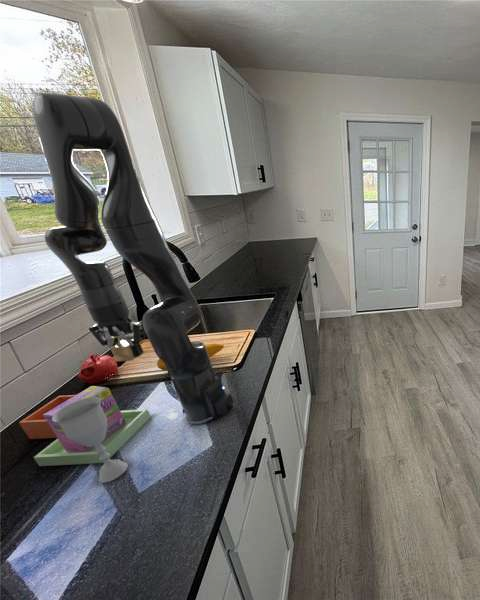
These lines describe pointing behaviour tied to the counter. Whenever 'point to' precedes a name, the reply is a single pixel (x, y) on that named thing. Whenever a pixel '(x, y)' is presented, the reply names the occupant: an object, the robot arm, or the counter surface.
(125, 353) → the block
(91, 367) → the pomegranate
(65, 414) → the chalice
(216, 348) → the corn
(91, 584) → the counter surface
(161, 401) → the counter surface
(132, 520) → the counter surface
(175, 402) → the counter surface
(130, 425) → the tray
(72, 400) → the box
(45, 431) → the bin
